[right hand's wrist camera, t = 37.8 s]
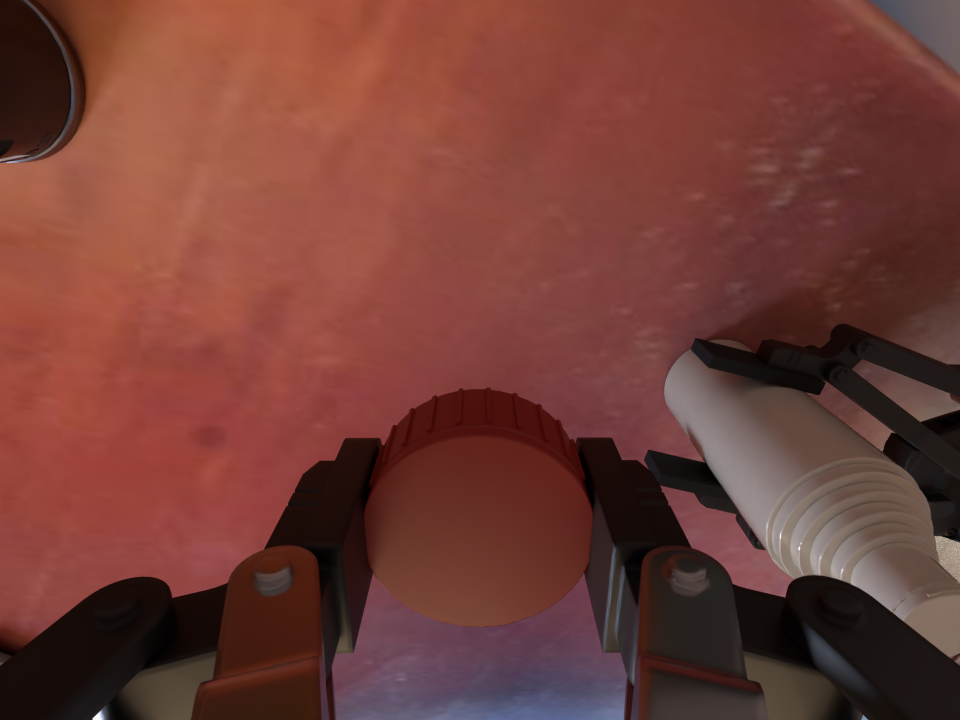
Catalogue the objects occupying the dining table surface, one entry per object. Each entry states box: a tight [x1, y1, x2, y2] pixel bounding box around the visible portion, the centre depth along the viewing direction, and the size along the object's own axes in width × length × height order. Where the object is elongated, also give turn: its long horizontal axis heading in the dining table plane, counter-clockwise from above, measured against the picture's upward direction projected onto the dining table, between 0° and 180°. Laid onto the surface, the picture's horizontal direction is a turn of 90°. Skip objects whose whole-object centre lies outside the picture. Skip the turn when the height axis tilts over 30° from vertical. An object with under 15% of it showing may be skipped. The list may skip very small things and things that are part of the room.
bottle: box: [664, 339, 960, 657], centre depth 30 cm, size 7×7×21 cm
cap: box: [364, 388, 593, 627], centre depth 11 cm, size 4×4×2 cm
